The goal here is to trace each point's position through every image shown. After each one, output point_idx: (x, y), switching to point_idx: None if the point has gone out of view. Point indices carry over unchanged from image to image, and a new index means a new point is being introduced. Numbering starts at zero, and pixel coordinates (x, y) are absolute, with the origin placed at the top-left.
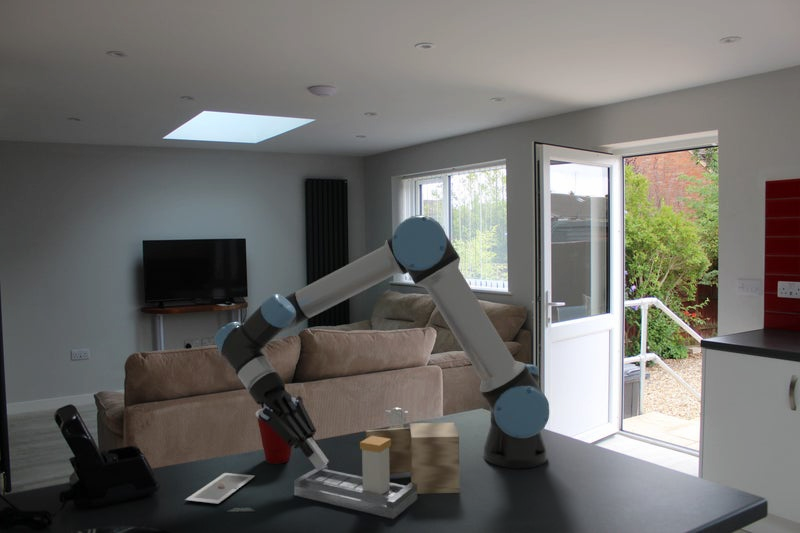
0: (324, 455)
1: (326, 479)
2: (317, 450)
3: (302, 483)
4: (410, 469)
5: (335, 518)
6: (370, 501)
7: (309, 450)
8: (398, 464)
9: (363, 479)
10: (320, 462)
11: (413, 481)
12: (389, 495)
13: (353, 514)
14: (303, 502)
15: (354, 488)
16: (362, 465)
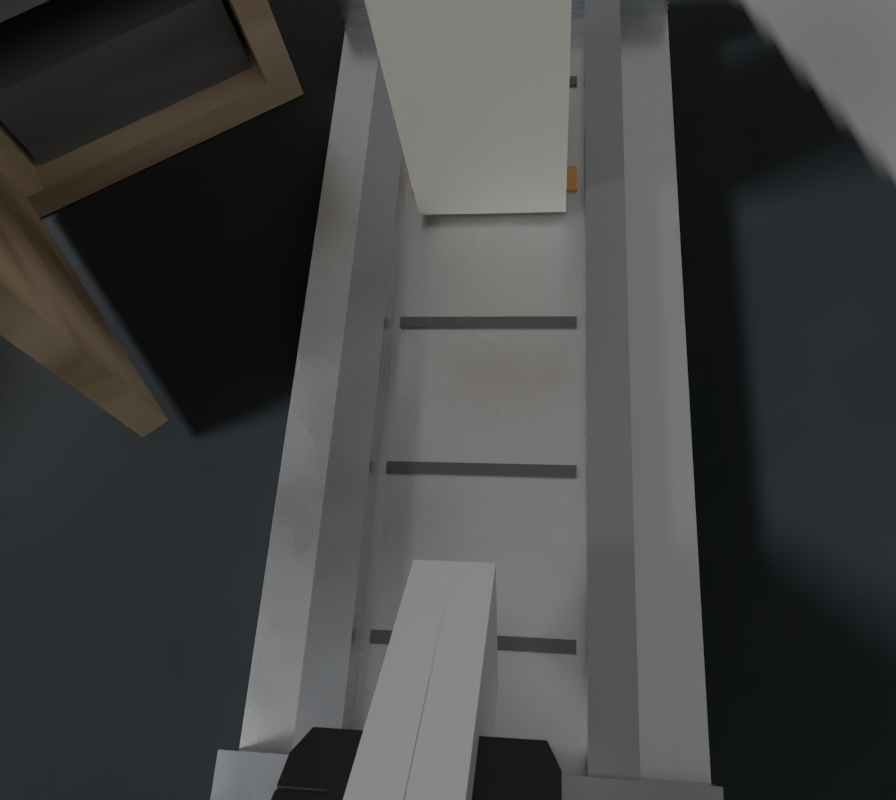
0: (405, 613)
1: None
2: (443, 692)
3: (669, 780)
4: (18, 184)
5: (851, 295)
6: (648, 121)
7: (533, 790)
8: (23, 214)
9: (566, 136)
10: (492, 631)
11: (276, 26)
12: None
13: (732, 231)
14: (773, 670)
15: (504, 317)
16: (568, 49)
